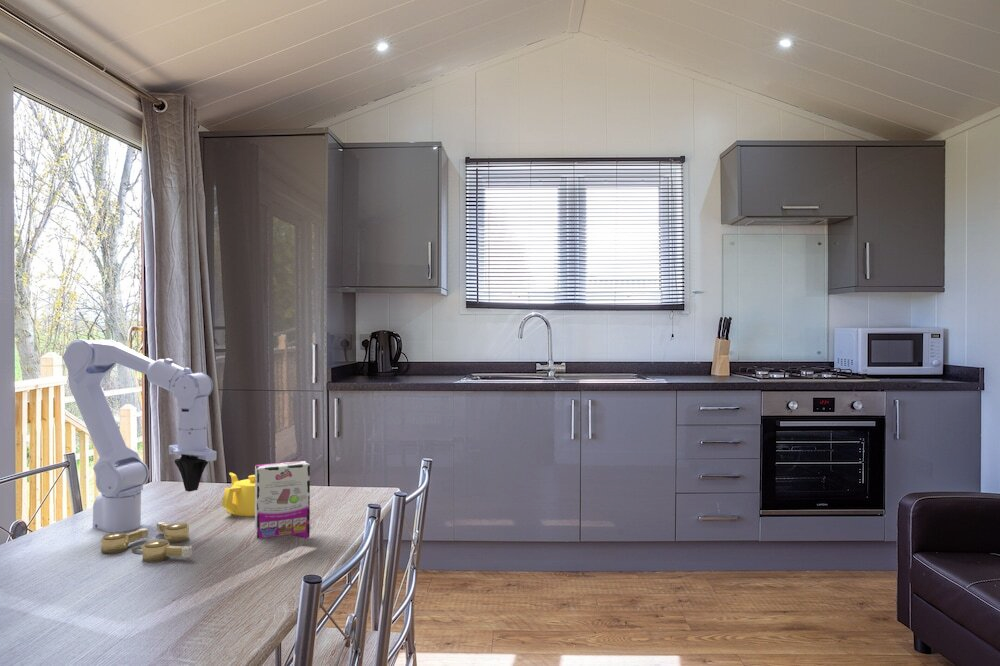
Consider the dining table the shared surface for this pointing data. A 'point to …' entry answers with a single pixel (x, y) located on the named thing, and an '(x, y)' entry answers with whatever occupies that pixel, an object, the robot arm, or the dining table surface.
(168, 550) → the knob front
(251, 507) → the teapot
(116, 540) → the knob inner
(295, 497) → the candy bar box
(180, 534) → the knob rear
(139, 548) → the tribrach plate
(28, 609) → the dining table surface
